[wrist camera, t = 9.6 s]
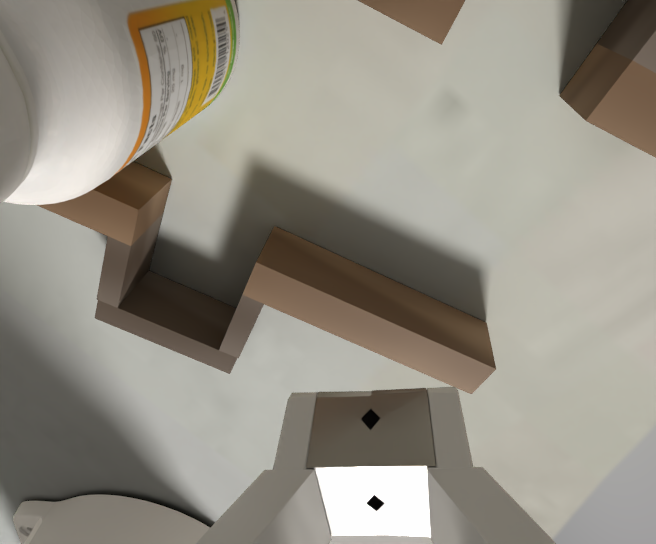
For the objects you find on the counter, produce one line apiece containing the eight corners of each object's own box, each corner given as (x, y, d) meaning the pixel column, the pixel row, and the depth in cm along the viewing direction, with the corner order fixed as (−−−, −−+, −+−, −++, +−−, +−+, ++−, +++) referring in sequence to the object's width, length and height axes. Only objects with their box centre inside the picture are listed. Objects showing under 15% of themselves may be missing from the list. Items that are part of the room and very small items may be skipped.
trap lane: (415, 403, 21) (416, 450, 19) (-7, 223, 19) (-58, 255, 17) (831, -71, 11) (930, -77, 9) (-7, -595, 9) (-139, -770, 7)
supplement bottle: (31, -26, 14) (-494, -6, 6) (172, -138, 12) (-321, -338, 4) (144, 140, 16) (-117, 318, 8) (276, 69, 14) (106, 210, 6)
